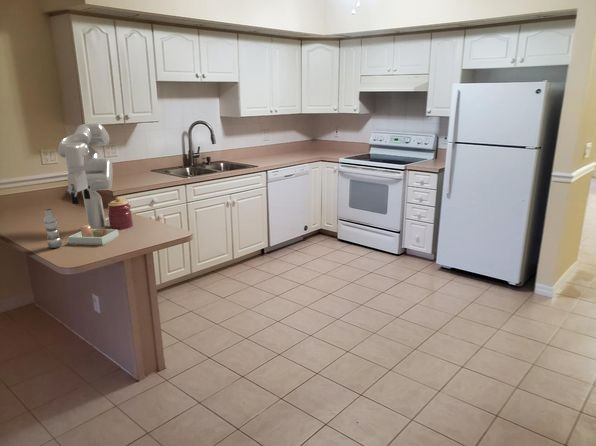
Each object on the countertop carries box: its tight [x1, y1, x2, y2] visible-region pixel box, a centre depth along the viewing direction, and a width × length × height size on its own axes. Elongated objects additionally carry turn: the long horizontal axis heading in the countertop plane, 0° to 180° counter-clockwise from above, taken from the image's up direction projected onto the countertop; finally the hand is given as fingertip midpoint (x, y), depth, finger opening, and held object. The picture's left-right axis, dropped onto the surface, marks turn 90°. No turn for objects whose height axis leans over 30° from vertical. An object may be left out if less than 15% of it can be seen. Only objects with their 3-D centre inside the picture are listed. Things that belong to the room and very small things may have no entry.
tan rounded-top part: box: [79, 224, 92, 237], centre depth 247 cm, size 5×5×7 cm
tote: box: [67, 228, 120, 246], centre depth 247 cm, size 15×20×4 cm
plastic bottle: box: [42, 208, 63, 249], centre depth 236 cm, size 6×7×20 cm
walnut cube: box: [93, 228, 108, 237], centre depth 246 cm, size 5×5×5 cm
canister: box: [106, 196, 134, 230], centre depth 269 cm, size 13×13×18 cm
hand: (81, 201), depth 243 cm, fingers open, 9 cm apart
